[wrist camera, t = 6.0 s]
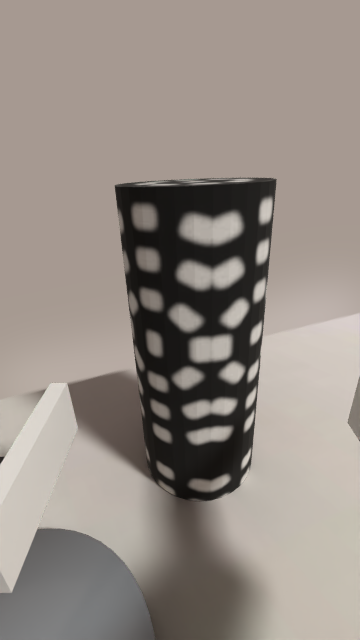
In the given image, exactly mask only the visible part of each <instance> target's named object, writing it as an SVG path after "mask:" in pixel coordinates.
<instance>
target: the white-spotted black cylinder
mask: <svg viewBox="0 0 360 640" xmlns="http://www.w3.org/2000/svg"><path fill="white" fill-rule="evenodd" d="M275 190H276V179H273V178H212V179H184V180H166V181H165V180H164V181H148V182H135V183H125V184H118V185H115V192H116V200H117V208H118V216H119V225H120V234H121V243H122V251H123V260H124V268H125V276H126V285H127V294H128V302H129V311H130V319H131V328H132V335H133V344H134V353H135V361H136V370H137V379H138V387H139V396H140V404H141V413H142V421H143V430H144V438H145V447H146V455H147V462H148V468H149V470H150V472H151V475H152V477H153V478H154V479H155V480H156V482H157V483H158V484H159V485H160V486H161V487H162V488H163V489H165V490H166V491H167V492H169V493H171V494H173V495H175V496H177V497H180V498H183V499H186V500H194V501H207V500H213V499H217V498H221V497H223V496H225V495H227V494H229V493H231V492H233V491H234V490H235V489H236V488H238V487H239V486H240V485H241V484H242V482H243V481H244V480H245V479H246V477H247V474H248V472H249V470H250V465H251V458H252V447H253V436H254V424H255V413H256V402H257V391H258V380H259V369H260V358H261V346H262V335H263V324H264V312H265V302H266V290H267V279H268V267H269V256H270V245H271V235H272V223H273V211H274V201H275Z"/></svg>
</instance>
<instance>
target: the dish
mask: <svg viewBox="0 0 360 640" xmlns="http://www.w3.org/2000/svg"><path fill="white" fill-rule="evenodd" d="M0 640H155V634H154V630H153V626H152V622H151V617H150V613H149V610H148V608H147V605H146V602H145V599H144V597H143V594H142V592H141V590H140V588H139V586H138V584H137V582H136V580H135V578H134V576H133V575H132V573H131V572H130V570H129V569H128V567H127V566H126V565H125V563H124V562H123V561H122V560H121V559H120V558H119V557H118V556H117V555H116V554H115V553H114V552H113V551H112V550H111V549H110V548H108V547H107V546H106V545H104V544H103V543H102V542H100V541H98V540H96V539H94V538H92V537H90V536H88V535H86V534H82V533H79V532H76V531H71V530H65V529H39V530H37V531H36V533H35V536H34V538H33V541H32V543H31V546H30V548H29V551H28V553H27V556H26V558H25V561H24V563H23V566H22V568H21V571H20V573H19V576H18V578H17V581H16V583H15V586H14V588H13V591H12V593H0Z"/></svg>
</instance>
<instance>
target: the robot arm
mask: <svg viewBox="0 0 360 640" xmlns="http://www.w3.org/2000/svg"><path fill="white" fill-rule="evenodd" d="M348 424H349V425H350V427H351V429H352V430H353V432H354V433H355V435H356V436H357V438H358V439H359V441H360V377H359V381H358V384H357V388H356V392H355V396H354V400H353V403H352V407H351V411H350V415H349V419H348ZM77 429H78V426H77V422H76V418H75V414H74V409H73V405H72V401H71V397H70V393H69V388H68V384H67V383H50V384H49V386H48V388H47V389H46V391H45V393H44V394H43V396H42V397H41V399H40V401H39V402H38V404H37V406H36V407H35V409H34V410H33V412H32V414H31V415H30V417H29V419H28V420H27V422H26V424H25V425H24V427H23V428H22V430H21V432H20V433H19V435H18V437H17V438H16V440H15V441H14V443H13V445H12V446H11V448H10V450H9V451H8V453H7V454H6V456H5V457H0V593H12V591H13V588H14V586H15V583H16V581H17V578H18V576H19V573H20V571H21V568H22V566H23V563H24V561H25V558H26V556H27V553H28V551H29V548H30V546H31V543H32V541H33V538H34V536H35V533H36V531H37V529H38V526H39V524H40V521H41V519H42V516H43V514H44V511H45V509H46V506H47V504H48V501H49V499H50V496H51V494H52V491H53V489H54V486H55V484H56V481H57V479H58V476H59V474H60V471H61V469H62V466H63V464H64V461H65V459H66V456H67V454H68V451H69V449H70V446H71V444H72V442H73V439H74V437H75V434H76V432H77Z"/></svg>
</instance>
